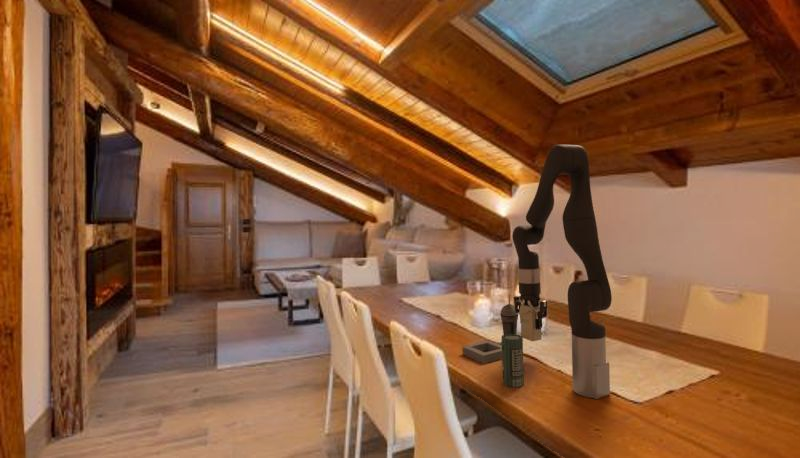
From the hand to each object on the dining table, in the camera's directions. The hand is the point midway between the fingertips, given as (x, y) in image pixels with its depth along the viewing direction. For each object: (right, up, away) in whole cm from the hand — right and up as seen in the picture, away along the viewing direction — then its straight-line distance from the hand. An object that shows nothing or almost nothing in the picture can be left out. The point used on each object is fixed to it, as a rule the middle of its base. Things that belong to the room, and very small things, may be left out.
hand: (531, 327), depth 152 cm
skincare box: (0, -4, 0) cm, 4 cm away
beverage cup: (-2, -11, +21) cm, 24 cm away
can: (-11, -14, -18) cm, 26 cm away
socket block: (-15, -12, +7) cm, 20 cm away
